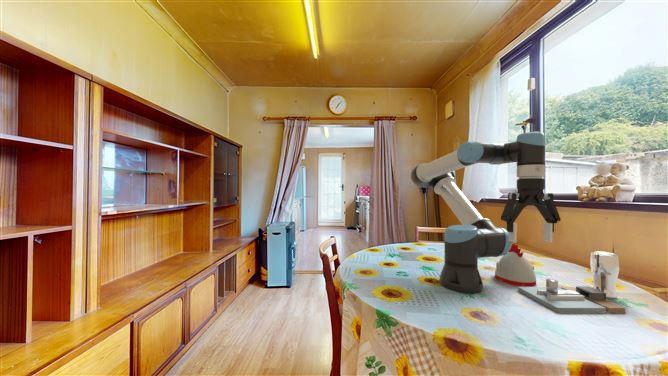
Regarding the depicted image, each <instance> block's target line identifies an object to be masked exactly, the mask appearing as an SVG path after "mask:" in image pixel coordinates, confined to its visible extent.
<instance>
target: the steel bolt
mask: <svg viewBox="0 0 668 376" xmlns="http://www.w3.org/2000/svg"><path fill="white" fill-rule="evenodd" d="M545 287H546V291H544V294H546V295H580V293H578V292H575V291H558V287H559V281H558V280H557V279H554V278H546V279H545Z"/></svg>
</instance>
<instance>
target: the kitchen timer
mask: <svg viewBox="0 0 668 376" xmlns="http://www.w3.org/2000/svg"><path fill="white" fill-rule="evenodd" d="M521 251H522V250H521V248H519V246H518V244H515V243H511V249H510V251H509V252H508V253H507V254H505V255H503V256H501V258H500V259H499V261H497V262H496V264H495V265H496V266H495V267H496V268H495V272H494V277H495V279H496V280H497V281H500V282H502V283H505V284H508V285H511V286H517V287H524V286H525V287H529V286H530V287H531V286H532V287H536V285H537V276H536V273H535V266H534V265H532V264H531V262H530V261H529V259H528V258H526V256H524V251H522V252H521Z"/></svg>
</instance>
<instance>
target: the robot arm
mask: <svg viewBox="0 0 668 376" xmlns="http://www.w3.org/2000/svg"><path fill="white" fill-rule="evenodd" d="M546 146H547V145H546V140H545V134H544V132H541V131H531V132H522V133H520V134H518V135H517V136H516V140H515V141H512V142H507V143H496V142H495V143H494V142H493V143H492V142H483V141H473V140H472V141H464V142H463V143H461V144H460V146H458V148H457V150H455V151H452V152H450V153H447V154H446V155H443V156H441V157H439V158H436V159H434V160H432V161H430V162H426V163H425V162H424V163H420V164H417V165H416V166H415V167H413V168H412V170H411V172H410V179H411V181H412V183H413V184H414V185H415V186H416V187H420V188H425V189H426V188H429V189H432V191H433V192H434V193H435V194H437V195H439V196H441V197H442V200H444V202H445V203H446V205H447V206H448V207H449V208H450V209H451V211H452V213H453V214H454V215H455V216H456V218H457V219H458V220H459V222H460V223H461V224H454V225H453V224H452V225H449V226H448V227H446V228H445V229H444V236H443V240H444V242H443V243H444V259H443V261H444V262H443V263H444V264H443V267H442V269H441V272H440V274H439V284H440V285H442V286H443V287H444V288H446V289H449V290H451V291H454V292H459V293H464V294H475V293H481V292H483V290H484V283H483V279H482V277H481V274H480V271H479V269H478V262H479V259H481V258H482V259H483V258H484V259H485V258H498V257H503V256H504V255H505V254H507V253H508V252H509V251H510V249H511V244H512V243H513V244H515V243H517V240H518V237H517V232H518V231H517V228H518V227H517V226H518V223H517V222H515V221H516V220H517V219H518V217H519V216H520V214H521V213H522V212H523V210H524V208H526V207H528V206H534V207H535V208H536V209H537V211H539V213H540V215H541V216H542V217H543V219H544V221H543V223H542V224H543V230H542V237H543V238H542V241H543V242H546V243H552V244H553V233H554V232H555V224H557V223H558V222H560V221H561V220H562V219H561V217H560V214H559V211H558V208H557V206H556V203H555V200H554V193H552V192H544V190H545V189H546V179H545V178H544V177H546V176H545V175H546V164H545V159H546V157H545V156H546V154H545V153H546ZM512 163H516V178H517V179H516V190H517V193H516V192H509V193H508V194H507V201H506V203H505V206H504V208H503V210H502V214H501V217H500V220H501V221H504V222H506V229H505V228H503V227H501V226H496V225H495V224H494V223H493V221H492V220H491V219H489V218H484V217H483V216H482V215H481V214H480V212H479V210H477V209H476V208H475V206H474V205H473V204H472V203H471V201H470V200H469V199H468V198H467V196H466V195H465V194H464V193H463V192H462V190H460V188H459V187H458V186H457V176H456V172H455V171H458V170H460V169H463V168H466V167H470V166H472V165H476V164H489V165H494V166H495V165H498V166H499V165H504V164H512Z"/></svg>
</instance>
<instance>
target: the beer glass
mask: <svg viewBox="0 0 668 376" xmlns="http://www.w3.org/2000/svg"><path fill="white" fill-rule="evenodd" d="M589 260H590V261H589V263H590V271H591V275H592V278H593V279H592V280H593V287H592V288H594V289H597V290H600V291H602V292H605V293H606V299H617V298H618V294H617V291H616V290H617V289H616V285H617V281H618V277H619V273H620V260H619V255H618V254H617V253H614V252H613V253H612V252H606V251H599V250H597V251H596V250H594V251H593V250H592V251H591V252H590V259H589Z"/></svg>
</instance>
